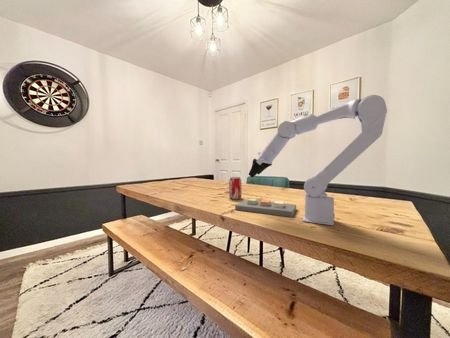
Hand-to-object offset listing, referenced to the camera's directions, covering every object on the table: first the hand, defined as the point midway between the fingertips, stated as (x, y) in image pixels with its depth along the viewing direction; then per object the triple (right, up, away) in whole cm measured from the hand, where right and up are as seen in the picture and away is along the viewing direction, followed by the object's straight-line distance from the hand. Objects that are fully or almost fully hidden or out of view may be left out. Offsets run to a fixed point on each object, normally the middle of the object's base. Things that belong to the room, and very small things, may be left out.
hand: (253, 174), depth 80 cm
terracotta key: (+5, -14, +1) cm, 15 cm away
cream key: (+11, -14, -2) cm, 18 cm away
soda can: (-7, -15, +26) cm, 30 cm away
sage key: (0, -14, +4) cm, 14 cm away
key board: (+5, -15, +1) cm, 16 cm away
